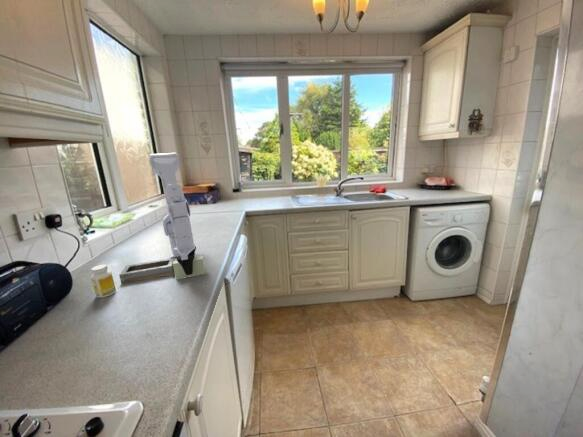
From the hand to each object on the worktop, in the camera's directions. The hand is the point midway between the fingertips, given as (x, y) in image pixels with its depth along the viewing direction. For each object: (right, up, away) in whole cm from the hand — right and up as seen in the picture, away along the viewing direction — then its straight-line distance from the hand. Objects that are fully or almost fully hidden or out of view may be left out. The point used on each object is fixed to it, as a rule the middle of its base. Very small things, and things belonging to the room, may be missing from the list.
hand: (190, 270), depth 92 cm
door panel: (0, -2, 0) cm, 2 cm away
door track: (-16, -2, +3) cm, 17 cm away
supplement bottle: (-24, -6, -9) cm, 26 cm away
